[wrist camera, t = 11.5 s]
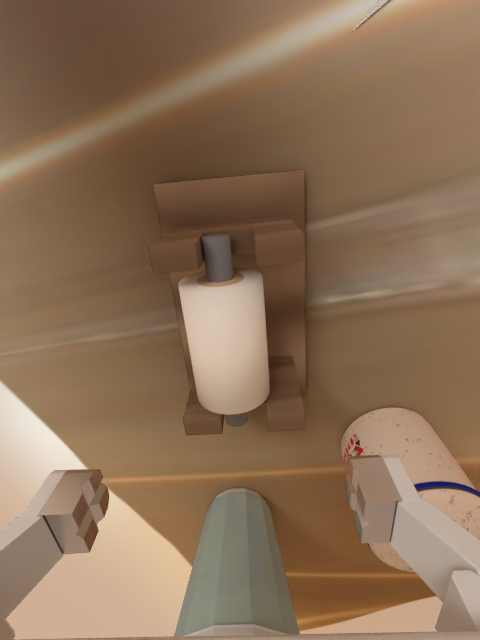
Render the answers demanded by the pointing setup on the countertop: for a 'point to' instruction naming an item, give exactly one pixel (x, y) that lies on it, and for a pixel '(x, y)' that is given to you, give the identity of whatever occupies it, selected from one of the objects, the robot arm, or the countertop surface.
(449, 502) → the teacup with lid
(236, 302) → the paper roll
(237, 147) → the countertop surface
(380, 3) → the scissors
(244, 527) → the disposable coffee cup
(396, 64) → the countertop surface
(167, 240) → the roll holder
